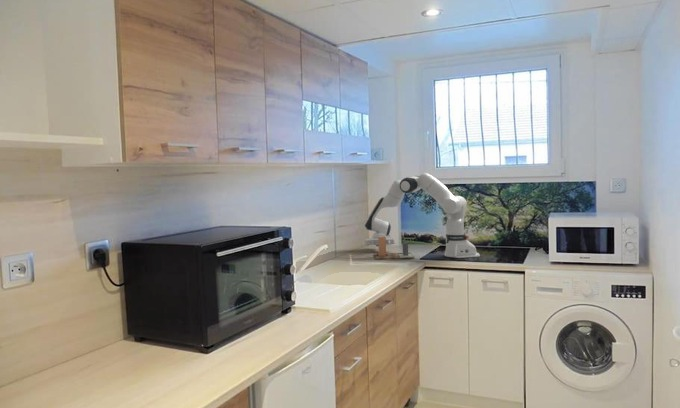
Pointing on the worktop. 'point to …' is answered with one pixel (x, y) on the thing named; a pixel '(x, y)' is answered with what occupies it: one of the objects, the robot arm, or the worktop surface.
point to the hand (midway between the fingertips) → (380, 243)
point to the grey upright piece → (405, 251)
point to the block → (382, 245)
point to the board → (391, 256)
